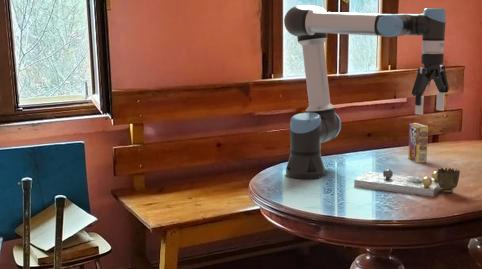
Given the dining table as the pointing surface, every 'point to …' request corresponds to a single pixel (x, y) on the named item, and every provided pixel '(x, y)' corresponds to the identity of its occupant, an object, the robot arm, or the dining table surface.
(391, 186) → the plate
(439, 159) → the dining table surface
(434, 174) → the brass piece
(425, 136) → the candy box
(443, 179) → the olive brown rounded bowl
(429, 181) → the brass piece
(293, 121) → the robot arm
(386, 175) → the steel ball
